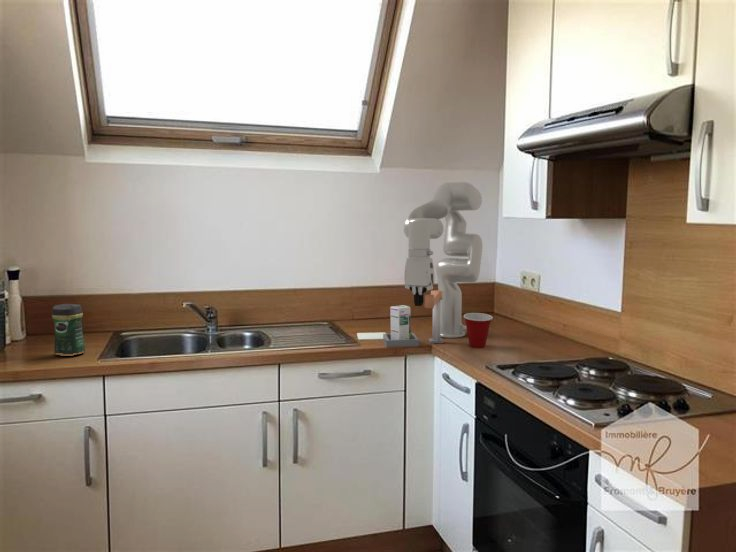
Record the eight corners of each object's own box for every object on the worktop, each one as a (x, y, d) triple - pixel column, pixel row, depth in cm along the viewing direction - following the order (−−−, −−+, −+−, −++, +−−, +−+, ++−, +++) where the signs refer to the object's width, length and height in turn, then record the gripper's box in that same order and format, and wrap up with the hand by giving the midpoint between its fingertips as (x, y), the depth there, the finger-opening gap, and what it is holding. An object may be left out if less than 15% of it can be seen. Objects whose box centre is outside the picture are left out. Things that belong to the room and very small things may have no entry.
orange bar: (431, 298, 229) (431, 286, 228) (442, 298, 228) (443, 286, 227) (422, 308, 205) (422, 295, 204) (434, 308, 204) (435, 295, 203)
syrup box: (398, 345, 223) (398, 307, 221) (390, 342, 228) (390, 305, 226) (411, 343, 226) (411, 306, 224) (402, 340, 231) (402, 304, 229)
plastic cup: (470, 350, 213) (471, 318, 212) (458, 344, 224) (458, 313, 222) (497, 348, 216) (498, 316, 215) (484, 342, 227) (484, 312, 225)
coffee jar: (89, 352, 214) (86, 302, 212) (74, 358, 207) (71, 306, 205) (65, 351, 216) (62, 302, 214) (50, 357, 208) (47, 305, 206)
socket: (439, 338, 234) (439, 298, 232) (445, 345, 222) (446, 302, 220) (383, 340, 233) (383, 299, 231) (386, 347, 220) (386, 304, 219)
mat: (385, 333, 245) (385, 332, 245) (388, 339, 234) (388, 338, 234) (356, 333, 245) (356, 333, 245) (358, 340, 233) (358, 339, 233)
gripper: (442, 254, 206) (442, 305, 207) (405, 252, 213) (404, 302, 215) (434, 255, 199) (433, 308, 201) (395, 253, 207) (395, 305, 209)
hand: (418, 305), depth 208 cm, fingers closed
